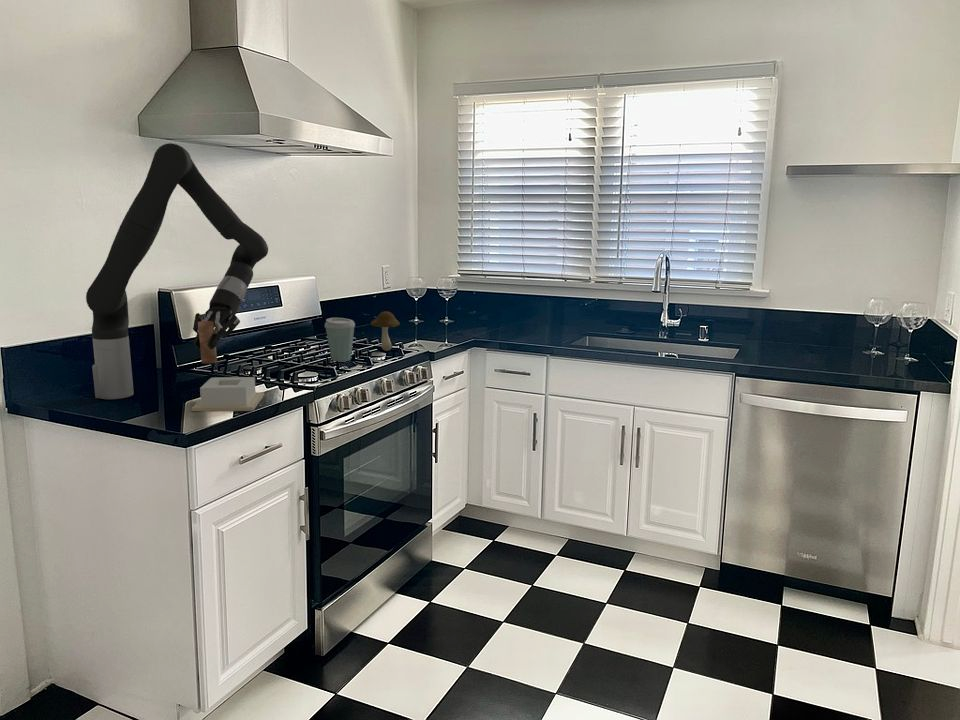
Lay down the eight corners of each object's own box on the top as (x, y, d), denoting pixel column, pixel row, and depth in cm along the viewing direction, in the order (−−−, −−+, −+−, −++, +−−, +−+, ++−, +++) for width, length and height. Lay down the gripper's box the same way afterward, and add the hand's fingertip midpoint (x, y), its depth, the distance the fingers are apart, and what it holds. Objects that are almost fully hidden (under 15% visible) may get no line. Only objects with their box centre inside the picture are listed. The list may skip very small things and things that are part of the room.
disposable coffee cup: (359, 358, 269) (358, 317, 266) (351, 365, 259) (350, 322, 256) (330, 357, 270) (329, 316, 267) (321, 364, 260) (320, 321, 257)
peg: (199, 363, 202) (195, 323, 200) (203, 360, 206) (200, 320, 203) (215, 363, 202) (211, 323, 200) (218, 360, 206) (215, 320, 204)
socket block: (191, 411, 201) (190, 389, 200) (207, 396, 217) (206, 376, 215) (253, 410, 203) (251, 389, 201) (264, 395, 218) (263, 375, 217)
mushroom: (379, 347, 290) (378, 308, 287) (405, 350, 285) (404, 311, 282) (366, 351, 282) (365, 311, 279) (391, 354, 277) (391, 314, 274)
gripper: (200, 286, 209) (173, 337, 201) (243, 288, 204) (217, 340, 196) (215, 303, 215) (189, 353, 207) (256, 305, 210) (232, 356, 202)
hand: (203, 346), depth 201 cm, fingers closed on peg, 4 cm apart
